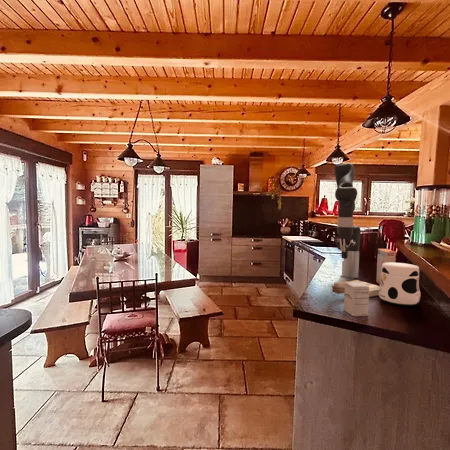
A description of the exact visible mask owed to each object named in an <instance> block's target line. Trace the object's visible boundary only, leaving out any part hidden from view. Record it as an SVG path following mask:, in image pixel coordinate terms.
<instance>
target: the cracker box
mask: <svg viewBox="0 0 450 450" xmlns="http://www.w3.org/2000/svg"><path fill="white" fill-rule="evenodd" d="M396 256H397V252H396V251H394V250H391V249H389V248H377V260H376V261H377V262H376V263H377V264H376V278H375V279H376V283H377V284H378V286H380V283H381V272H382V264H383V263H397V262H396V260H397V257H396Z"/></svg>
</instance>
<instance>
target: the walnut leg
mask: <svg viewBox="0 0 450 450" xmlns="http://www.w3.org/2000/svg"><path fill="white" fill-rule="evenodd" d="M331 288H332V289H331V292H332V293H334V294H337V295H340V294H345V284H344V285H336V286H334V285H332V287H331Z"/></svg>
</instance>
